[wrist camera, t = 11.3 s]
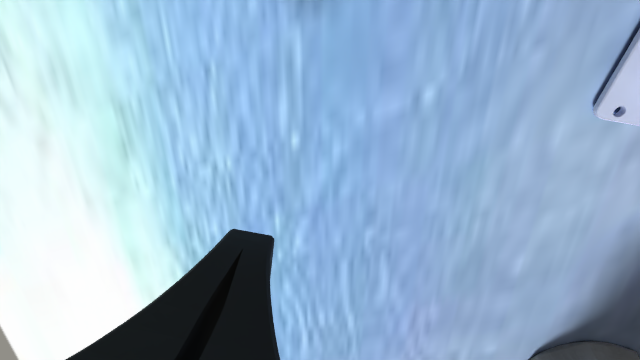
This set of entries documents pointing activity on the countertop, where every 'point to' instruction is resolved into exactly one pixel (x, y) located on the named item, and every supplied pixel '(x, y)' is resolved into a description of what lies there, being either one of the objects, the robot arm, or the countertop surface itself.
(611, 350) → the coffeepot
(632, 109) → the robot arm
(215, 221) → the countertop surface
